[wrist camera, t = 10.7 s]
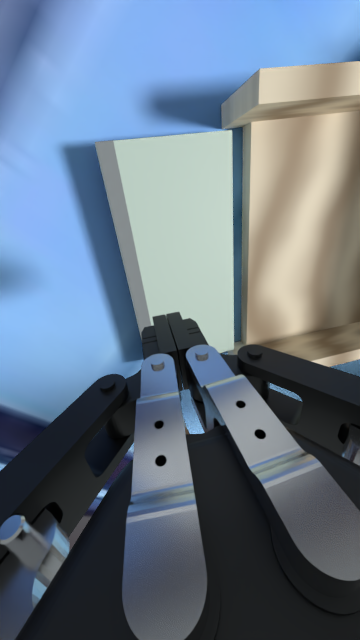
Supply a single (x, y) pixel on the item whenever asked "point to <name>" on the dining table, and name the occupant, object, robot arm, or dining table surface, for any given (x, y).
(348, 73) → the tray
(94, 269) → the dining table surface
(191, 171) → the panel
